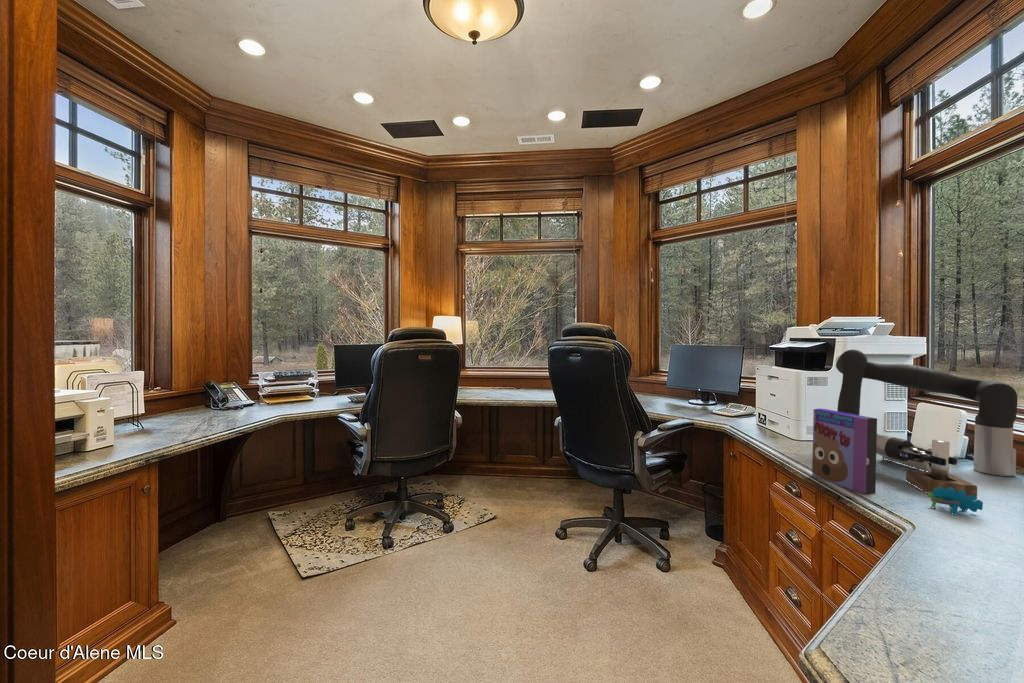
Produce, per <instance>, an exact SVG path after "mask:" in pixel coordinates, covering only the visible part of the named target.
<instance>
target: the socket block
mask: <svg viewBox="0 0 1024 683" xmlns="http://www.w3.org/2000/svg"><path fill="white" fill-rule="evenodd" d="M906 480H907V481H908V482H910V483H911V484H913V485H915V486H917V487H918V488H920V489H922V490H923V491H925V492H927V493H928V492H932V493H933V490H934V489H936V490H938V487H942V488H944V489H945V490H947V487H951V488H953V489H954V491H956V492H957V493H958V492H959V490H963V491H965V492H966V494H965V496H966V497H970V495H974V496H976V497H977V498H978V485H976V484H975V483H972V482H969V481H967V480H966V479H963V478H961V477H959V476H957V475H955V474H952V473H949V476H948V481H945V480H934V479H932V478H931V472H926V471H920V470H915V469H913V470H912V469H906V470H905V481H906ZM908 482H907V483H908ZM911 484H910V485H911ZM913 485H912V486H913ZM915 486H914V487H915ZM918 488H917V489H918ZM920 489H919V490H920ZM922 490H921V491H922ZM923 491H922V492H923ZM925 492H924V493H925ZM927 493H926V494H927ZM933 494H934V493H933Z"/></svg>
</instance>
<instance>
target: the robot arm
mask: <svg viewBox="0 0 1024 683" xmlns="http://www.w3.org/2000/svg"><path fill="white" fill-rule="evenodd" d="M835 368H836V369H837V371H838V372H839V373H840V374H842V380H841V381H842V382H841V387H840V392H839V396H838V400H837V409H836V411H839V412H844V413H850V414H855V415H861V414H860V413H861V411H860V409H861V396H862V394H861V393H862V392H861V391H862V383H863V380H864V379H867V380H873V381H878V382H883V383H887V384H892V385H896V386H900V387H904V388H907V389H908V388H909V389H913V390H918V391H921V392H926V393H935V394H943V395H944V394H945V395H951V396H952V395H953V396H957V397H960V398H963V399H967V400H971V401H974V402H977V403H979V405H978V413H977V415H976V416H975V417H974V418H975V419H974V448H973V470H975V471H976V472H980V473H982V474H983V473H984V474H987V475H993V476H999V477H1000V476H1001V477H1011V476H1012V477H1013V476H1014V477H1016V472H1017V471H1016V469H1017V449H1016V448H1014V424H1015V421H1016V419H1017V415H1018V413H1017V412H1018V402H1019V401H1018V393H1017V391H1016V390H1015V389H1014V387H1012V386H1011V385H1009V384H1006V383H1004V382H1000V381H994V380H985V379H977V378H968V377H963V376H958V375H954V374H950V373H949V372H945V371H941V370H938V369H934V368H930V367H926V366H921V365H915V364H908V363H878V362H873V361H868V358H867V355H866V354H865V353H864V352H863V351H861V350H858V349H854V348H853V349H847V350H845V351H844V352H842V353H841V354H840V356H839V357H838V359H837V361H836V363H835ZM913 445H914V444H913V443H912V442H911V441H910V440H907V439H905V438H904V439H902V438H899V437H895V436H890V435H885V434H878V433H877V447H876V455H880V456H881V457H883V456H885V457H889V458H892V459H896V460H900V461H908V460H912V461H917V462H921V463H924V462H927V463H934V464H938V465H942V466H946V459H944V458H940V457H935V456H932V448H927V449H925V448H923V447H920V446H918V447H916V448H915V447H914V446H913ZM949 465H953V466H955V465H958V458H957V457H953V456H949Z"/></svg>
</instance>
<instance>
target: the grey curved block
mask: <svg viewBox="0 0 1024 683" xmlns="http://www.w3.org/2000/svg"><path fill="white" fill-rule="evenodd" d="M913 446H914V447H915V448H916V447H919V446H917V445H916V444H913ZM883 458H885V459H888V460H891V461H895V462H899V463H902V464H905V465H908V466H911V467H915V468H917V469H921V470H924V471H928V472H931V463H927V462H924V463H921V462H917V461H912V460H908V461H900V460H896V459H892V458H889V457H885V456H882V459H883ZM917 469H916V470H917Z"/></svg>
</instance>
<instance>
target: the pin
mask: <svg viewBox="0 0 1024 683" xmlns="http://www.w3.org/2000/svg"><path fill="white" fill-rule="evenodd" d="M950 445H951V443H950V441H947V440H942V439H932V440H931V449H932V456H935V457H940V458H944V459H946V466H942V465H938V464H934V463H931V478H932V479H934V480H945V481H948V476H949V474H950V472H949V471H950V470H949V469H950V464H949V457H950Z"/></svg>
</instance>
